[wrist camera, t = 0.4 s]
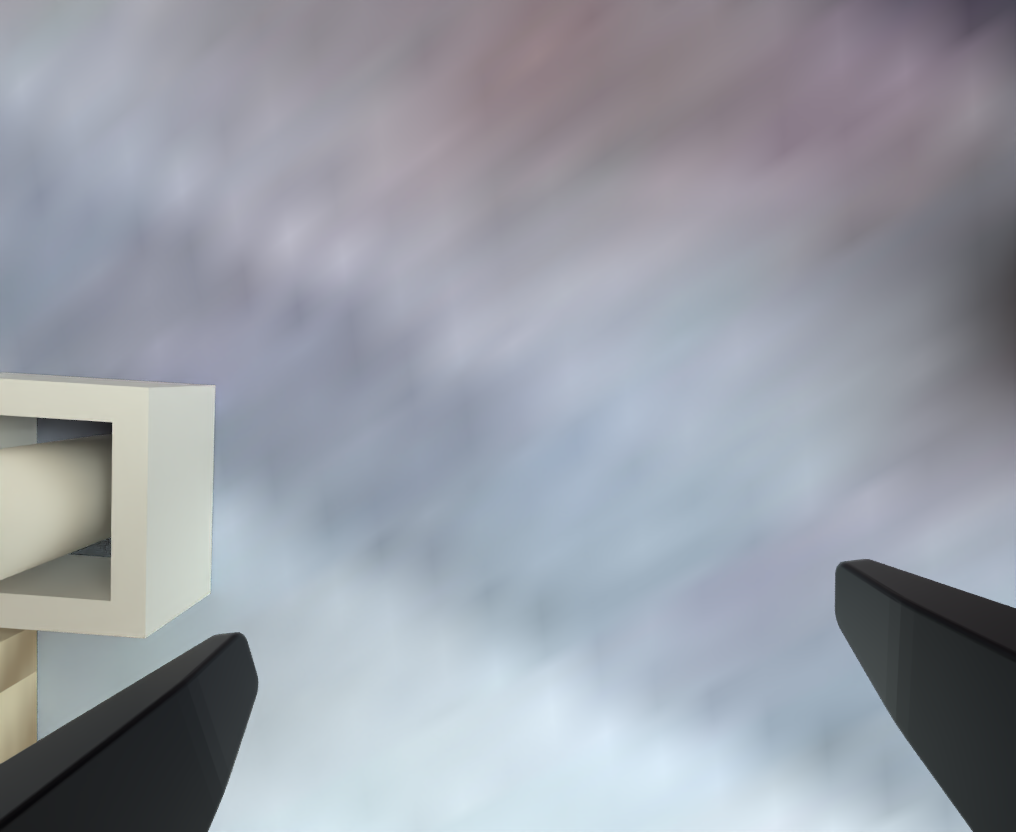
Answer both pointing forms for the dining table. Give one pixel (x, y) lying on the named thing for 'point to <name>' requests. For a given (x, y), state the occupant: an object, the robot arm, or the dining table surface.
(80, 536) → the plug
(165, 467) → the holster
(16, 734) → the socket block
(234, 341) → the dining table surface
